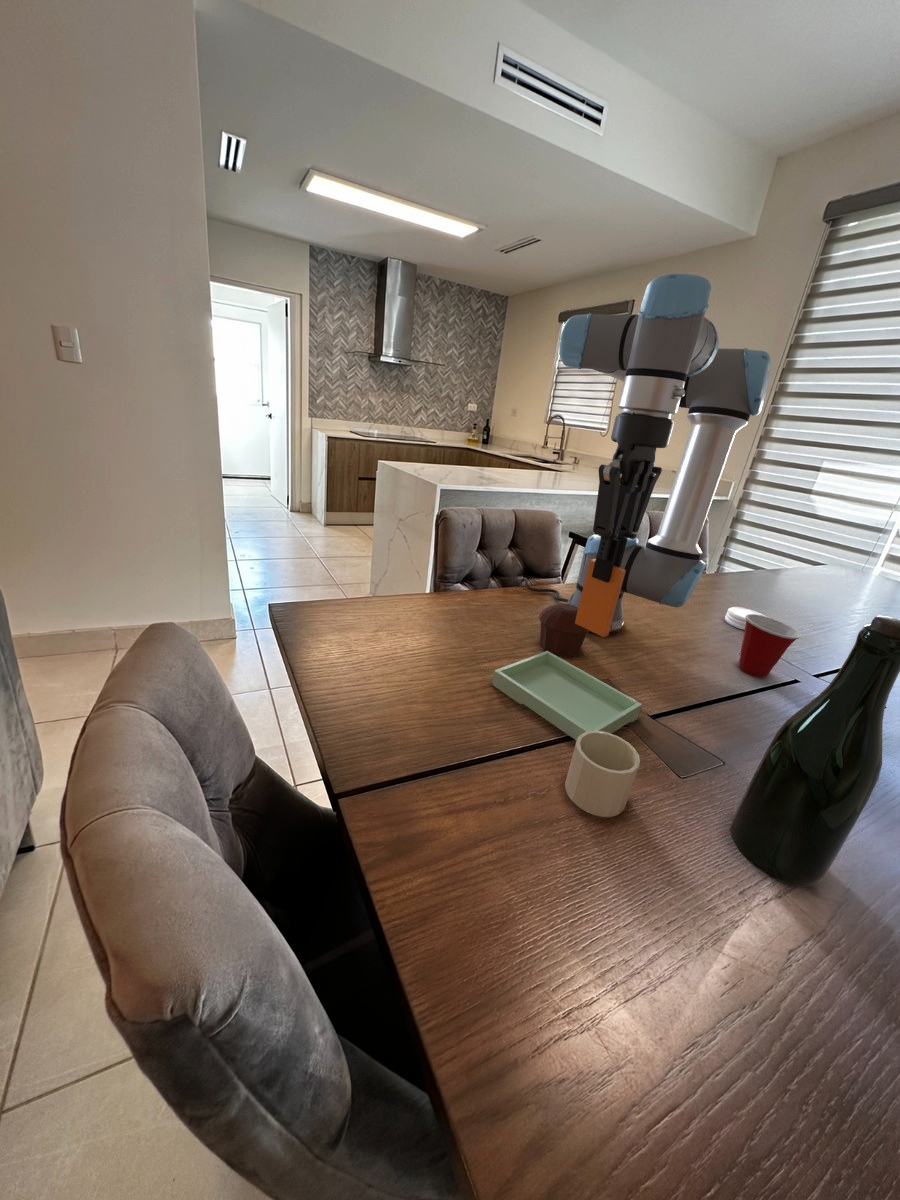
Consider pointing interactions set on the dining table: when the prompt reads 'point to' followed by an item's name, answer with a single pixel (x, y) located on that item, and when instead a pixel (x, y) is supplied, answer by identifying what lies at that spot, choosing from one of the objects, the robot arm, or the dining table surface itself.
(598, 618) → the plate
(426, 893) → the dining table surface
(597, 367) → the robot arm
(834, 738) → the beer bottle
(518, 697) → the tray
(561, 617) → the muffin
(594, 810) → the sugar cup
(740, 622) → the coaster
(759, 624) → the plastic cup
